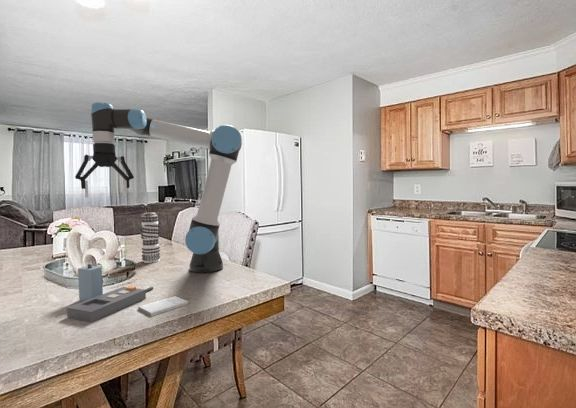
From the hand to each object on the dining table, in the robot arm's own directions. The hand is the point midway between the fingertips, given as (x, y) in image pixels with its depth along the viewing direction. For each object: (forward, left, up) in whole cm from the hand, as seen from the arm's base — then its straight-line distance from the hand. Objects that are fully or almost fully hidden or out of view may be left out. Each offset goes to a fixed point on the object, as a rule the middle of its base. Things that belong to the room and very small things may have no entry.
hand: (106, 196), depth 126 cm
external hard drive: (-8, +42, -35) cm, 55 cm away
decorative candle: (-23, -25, -35) cm, 49 cm away
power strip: (+2, +29, -34) cm, 45 cm away
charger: (+9, +19, -34) cm, 40 cm away
